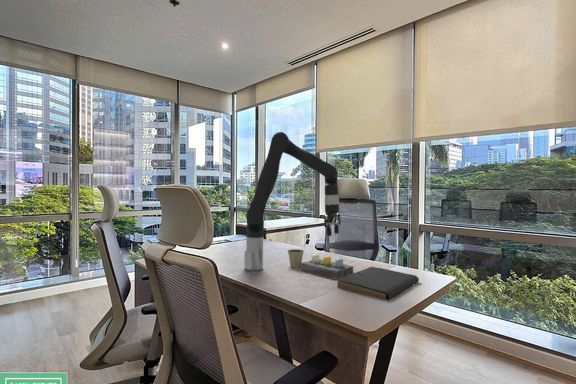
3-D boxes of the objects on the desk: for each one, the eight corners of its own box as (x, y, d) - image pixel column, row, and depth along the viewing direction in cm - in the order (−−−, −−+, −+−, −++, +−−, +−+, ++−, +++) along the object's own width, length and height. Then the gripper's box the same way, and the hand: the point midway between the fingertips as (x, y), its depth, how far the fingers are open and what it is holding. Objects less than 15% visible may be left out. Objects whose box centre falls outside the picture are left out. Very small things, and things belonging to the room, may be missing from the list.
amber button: (327, 267, 154) (327, 258, 154) (321, 266, 157) (321, 256, 157) (332, 266, 157) (332, 256, 157) (326, 265, 160) (326, 255, 160)
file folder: (371, 265, 158) (419, 275, 142) (371, 273, 158) (418, 284, 142) (336, 278, 133) (389, 292, 117) (336, 288, 133) (388, 302, 117)
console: (337, 279, 144) (338, 271, 144) (301, 270, 160) (301, 263, 160) (353, 274, 155) (353, 266, 155) (317, 265, 170) (317, 258, 170)
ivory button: (316, 265, 160) (316, 255, 160) (310, 263, 162) (310, 254, 162) (320, 264, 162) (320, 254, 162) (314, 262, 165) (314, 253, 165)
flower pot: (284, 264, 172) (284, 249, 172) (299, 263, 176) (299, 248, 176) (291, 268, 163) (291, 253, 163) (306, 267, 167) (307, 251, 167)
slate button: (340, 270, 149) (340, 260, 149) (333, 269, 152) (333, 259, 152) (344, 269, 152) (344, 259, 152) (337, 267, 155) (338, 258, 155)
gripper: (331, 203, 167) (332, 232, 167) (319, 204, 155) (320, 235, 155) (344, 202, 162) (345, 233, 162) (332, 204, 151) (333, 236, 151)
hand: (333, 234), depth 159 cm, fingers open, 8 cm apart
